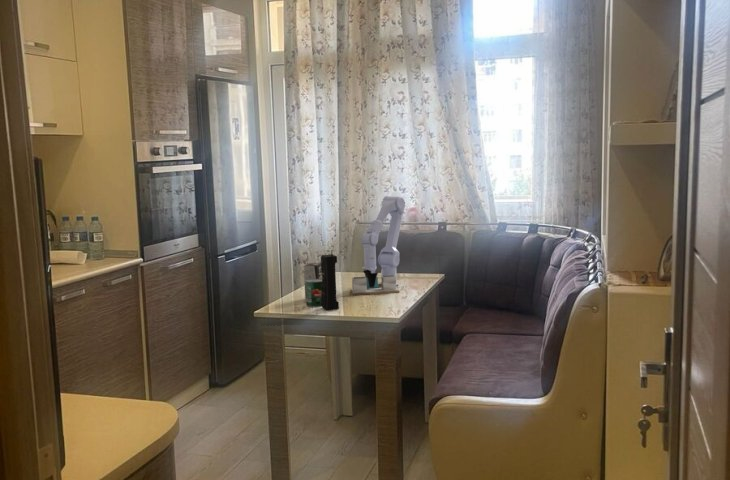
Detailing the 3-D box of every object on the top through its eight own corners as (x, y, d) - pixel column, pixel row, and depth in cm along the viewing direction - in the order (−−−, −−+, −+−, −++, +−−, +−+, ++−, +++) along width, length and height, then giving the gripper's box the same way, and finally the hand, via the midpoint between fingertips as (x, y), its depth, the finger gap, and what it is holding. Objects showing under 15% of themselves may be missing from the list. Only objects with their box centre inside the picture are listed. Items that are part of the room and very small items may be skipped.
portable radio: (319, 307, 292) (317, 249, 289) (333, 306, 294) (331, 248, 292) (325, 311, 285) (323, 251, 282) (339, 309, 287) (337, 250, 284)
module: (364, 288, 333) (363, 275, 332) (376, 288, 334) (375, 275, 333) (365, 290, 328) (365, 277, 328) (378, 289, 329) (377, 276, 329)
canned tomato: (311, 303, 303) (310, 278, 301) (327, 303, 300) (326, 278, 299) (303, 306, 295) (302, 281, 294) (319, 307, 292) (318, 282, 291)
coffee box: (318, 301, 305) (317, 265, 304) (304, 301, 307) (303, 265, 305) (324, 297, 314) (322, 262, 312) (310, 297, 316) (309, 262, 314)
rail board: (349, 292, 325) (349, 276, 324) (395, 289, 329) (394, 273, 328) (352, 295, 316) (352, 279, 316) (399, 292, 320) (399, 276, 319)
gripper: (359, 256, 336) (360, 283, 337) (364, 260, 322) (365, 288, 323) (373, 255, 337) (374, 282, 339) (379, 259, 323) (380, 288, 324)
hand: (371, 285), depth 331 cm, fingers closed on module, 4 cm apart
